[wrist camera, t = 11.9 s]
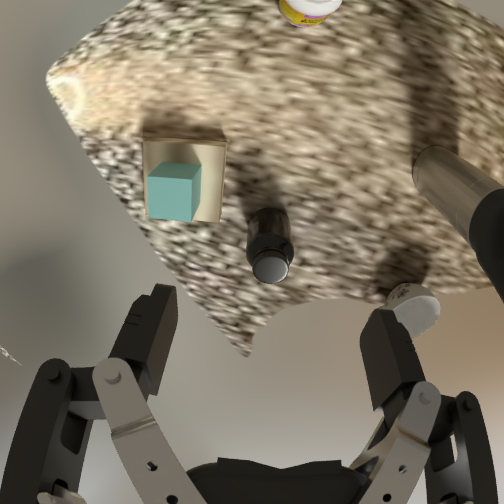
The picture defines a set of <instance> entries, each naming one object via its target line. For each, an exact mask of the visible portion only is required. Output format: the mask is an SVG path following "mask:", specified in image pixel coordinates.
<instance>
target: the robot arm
mask: <svg viewBox="0 0 504 504" xmlns="http://www.w3.org/2000/svg"><path fill="white" fill-rule="evenodd" d="M413 181H414V184H415V186H416V188H417V189H418V191H419V192H420V193H421V194H423V195H424V196H425V197H426V198H427V199H428V201H429V202H430V203H431V204H432V205H433V206H434V207H435V208H436V209H437V210H438V211H439V212H440V213H441V214H442V215H443V216H444V217H445V218H446V219H447V220H448V221H449V222H450V224H451V225H452V226H453V227H454V228H455V229H456V230H457V231H458V232H459V234H460V235H461V236H462V237H463V238H464V239H465V240H466V241H467V243H468V244H469V245H470V246H471V247H472V249H473V250H474V251H475V252H476V256H477V260H478V262H479V264H480V266H481V267H482V269H483V270H484V272H485V273H486V275H487V276H488V278H489V279H490V281H491V282H492V284H493V286H494V287H495V289H496V291H497V292H498V294H499V296H500V298H501V299H502V301H503V303H504V186H503V185H501V184H500V183H499V182H497V181H496V180H494V179H493V178H491V177H490V176H489V175H487V174H486V173H484V172H483V171H481V170H480V169H478V168H477V167H475V166H474V165H472V164H471V163H469V162H467V161H466V160H464V159H463V158H461V157H459V156H458V155H456V154H455V153H453V152H451V151H449V150H448V149H446V148H444V147H441V146H431V147H429V148H427V149H425V150H424V151H422V152H421V154H420V155H419V156H418V158H417V159H416V161H415V164H414V167H413ZM177 321H178V307H177V294H176V287H175V286H171V285H164V284H158V283H157V284H156V285H155V287H154V289H153V291H152V294H151V296H149V295H141V296H140V297H139V298H138V299H137V300H136V301H134V302H133V304H132V306H131V308H130V311H129V313H128V315H127V317H126V319H125V321H124V322H125V323H124V324H123V326H122V328H121V330H120V332H119V335H118V337H117V339H116V341H115V344H114V346H113V348H112V351H111V353H110V355H109V357H108V358H107V359H104V360H102V361H100V362H99V363H98V364H97V365H96V366H94V367H86V368H70V367H69V365H68V364H67V363H66V362H65V361H64V360H61V359H56V358H54V359H50V360H47V361H46V362H45V363H43V364H42V365H41V367H40V368H39V370H38V372H37V375H36V377H35V380H34V382H33V384H32V387H31V389H30V392H29V395H28V397H27V400H26V402H25V405H24V408H23V410H22V413H21V416H20V419H19V422H18V425H17V428H16V431H15V434H14V437H13V441H12V444H11V447H10V451H9V455H8V458H7V462H6V466H5V471H4V475H3V479H2V484H1V489H0V504H87V503H86V501H85V500H84V499H83V498H82V497H81V496H80V495H79V494H77V493H78V487H79V482H80V477H81V472H82V467H83V462H84V457H85V453H86V449H87V444H88V440H89V436H90V432H91V428H92V424H93V420H96V419H107V421H108V423H109V426H110V429H111V432H112V433H111V437H112V440H113V443H114V445H115V448H116V450H117V452H118V454H119V456H120V459H121V461H122V463H123V465H124V467H125V469H126V471H127V473H128V475H129V477H130V479H131V481H132V483H133V485H134V486H135V488H136V490H137V492H138V494H139V495H140V497H141V499H142V501H143V502H144V504H406V503H407V502H408V500H409V498H410V496H411V494H412V492H413V490H414V488H415V486H416V484H417V482H418V480H419V477H420V475H421V473H422V470H423V469H425V479H426V489H427V504H498V494H497V486H496V478H495V471H494V465H493V459H492V454H491V449H490V444H489V440H488V435H487V431H486V427H485V423H484V419H483V416H482V412H481V408H480V405H479V402H478V399H477V398H476V397H475V395H473V394H472V393H471V392H468V391H463V392H461V393H460V394H459V395H458V396H456V397H455V398H454V397H450V396H445V395H441V394H440V392H439V390H438V389H437V388H436V386H434V385H433V384H432V383H430V382H426V379H425V376H424V373H423V370H422V367H421V364H420V361H419V359H418V356H417V353H416V352H415V347H414V345H413V344H412V339H411V337H410V334H409V331H408V330H407V329H406V328H405V326H404V325H403V324H402V323H401V322H398V321H397V318H396V316H395V313H394V311H393V310H389V309H375V310H374V311H373V312H372V314H371V316H370V318H369V320H368V322H367V323H366V325H365V327H364V329H363V331H362V333H361V336H360V349H361V352H362V357H363V362H364V366H365V370H366V375H367V380H368V384H369V390H370V395H371V400H372V405H373V411H374V412H375V411H383V412H384V416H383V417H382V418H381V420H380V422H379V424H378V426H377V427H376V429H375V431H374V433H373V435H372V436H371V438H370V440H369V442H368V443H367V445H366V446H365V448H364V450H363V451H362V453H361V454H360V455H359V456H358V457H357V458H356V459H355V460H354V461H353V462H352V464H351V465H350V466H349V468H347V467H344V466H342V465H341V460H333V461H315V462H309V463H306V464H302V465H298V466H294V467H289V468H285V469H279V468H275V467H271V466H267V465H263V464H260V463H256V462H253V461H250V460H238V459H228V458H219V457H218V461H217V462H216V463H208V464H203V465H200V466H197V467H194V468H192V469H190V470H188V471H187V472H185V470H184V469H183V467H182V466H181V464H180V462H179V461H178V459H177V458H176V456H175V454H174V453H173V451H172V449H171V447H170V446H169V444H168V442H167V440H166V439H165V437H164V435H163V433H162V431H161V430H160V428H159V426H158V424H157V422H156V420H155V419H154V417H153V415H152V413H151V411H150V409H149V407H148V405H147V399H148V396H149V394H151V395H156V396H157V394H158V390H159V386H160V382H161V379H162V375H163V372H164V368H165V365H166V361H167V358H168V354H169V350H170V347H171V344H172V340H173V337H174V334H175V330H176V326H177ZM453 434H454V436H455V441H456V447H457V452H458V457H457V460H456V462H455V461H454V455H453V449H452V443H451V438H450V436H451V435H453Z"/></svg>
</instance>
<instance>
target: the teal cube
mask: <svg viewBox="0 0 504 504" xmlns="http://www.w3.org/2000/svg"><path fill="white" fill-rule="evenodd" d="M201 173H202V165H196V164H183V163H168V162H161V163H160V164H159V165H158V166H157V167H156V168H155V169H154V170H153V171H152V172H151V173H150V174H149V175H148V176H147V193H148V211H149V218H157V219H167V220H176V221H185V222H191V221H192V219H193V217H194V215H195V213H196V211H197V209H198V207H199V204H200V196H201Z"/></svg>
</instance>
